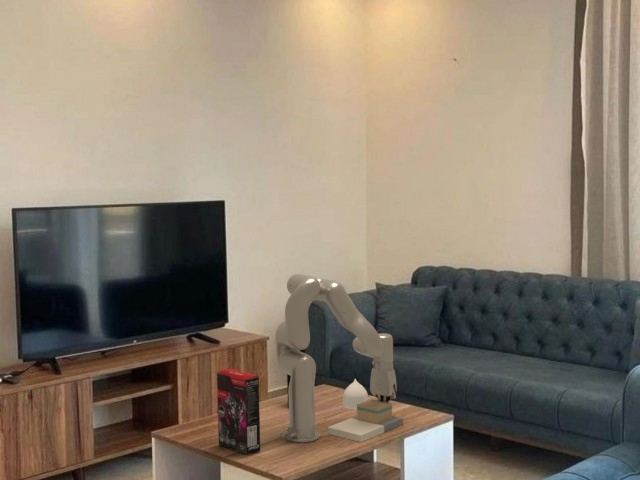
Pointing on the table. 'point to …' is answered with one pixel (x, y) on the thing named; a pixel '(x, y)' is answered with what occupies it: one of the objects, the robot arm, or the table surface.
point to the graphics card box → (238, 411)
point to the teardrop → (354, 396)
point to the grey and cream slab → (362, 428)
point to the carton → (374, 411)
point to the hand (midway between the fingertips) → (384, 411)
